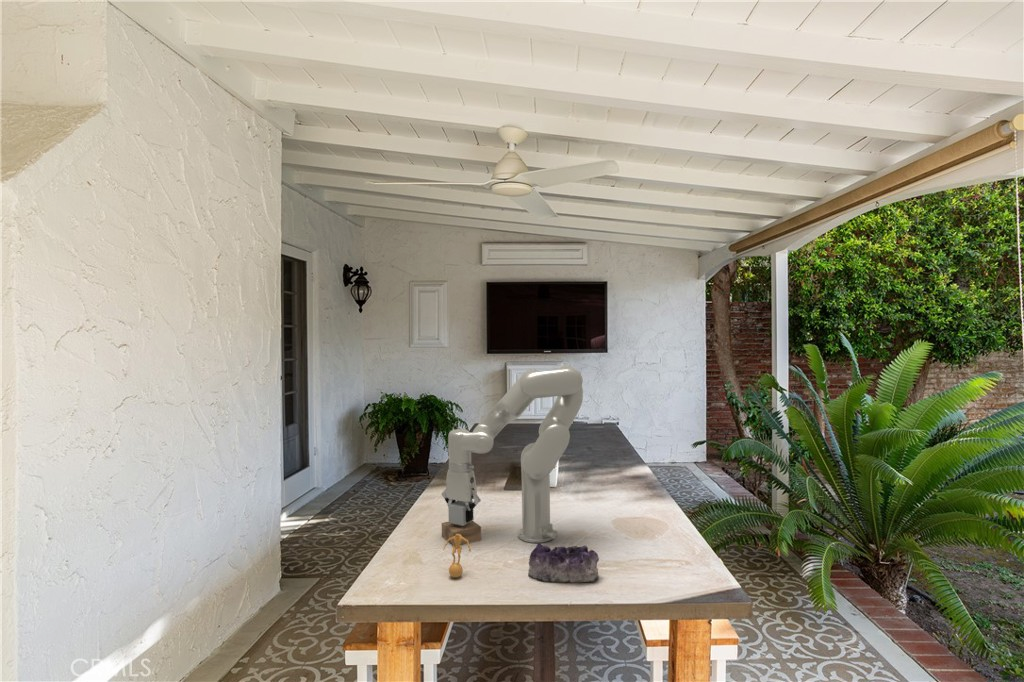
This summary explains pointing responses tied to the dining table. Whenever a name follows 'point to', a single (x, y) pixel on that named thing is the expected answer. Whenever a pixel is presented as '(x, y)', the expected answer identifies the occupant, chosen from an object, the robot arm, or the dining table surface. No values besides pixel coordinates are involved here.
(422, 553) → the dining table surface
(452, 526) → the walnut block
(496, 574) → the dining table surface
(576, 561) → the geode
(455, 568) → the figurine
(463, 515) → the slate block
